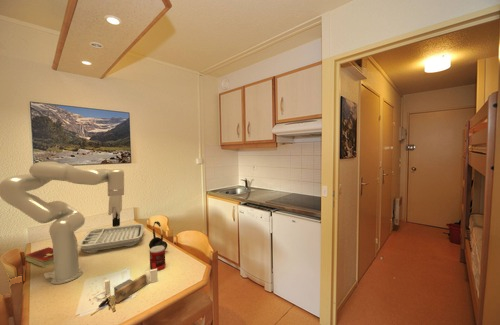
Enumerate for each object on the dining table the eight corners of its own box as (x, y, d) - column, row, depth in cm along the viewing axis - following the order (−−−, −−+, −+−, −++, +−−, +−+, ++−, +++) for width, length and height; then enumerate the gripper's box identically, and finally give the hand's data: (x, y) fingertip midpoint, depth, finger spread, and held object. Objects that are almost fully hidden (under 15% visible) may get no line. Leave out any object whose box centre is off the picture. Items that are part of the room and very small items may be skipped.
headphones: (155, 258, 128) (154, 226, 127) (147, 250, 138) (146, 220, 137) (169, 253, 134) (168, 222, 133) (160, 246, 144) (159, 217, 143)
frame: (105, 295, 95) (104, 282, 95) (106, 292, 97) (105, 279, 97) (157, 281, 105) (157, 269, 105) (157, 279, 107) (157, 268, 106)
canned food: (154, 264, 122) (153, 245, 121) (167, 264, 121) (167, 245, 121) (147, 271, 114) (146, 251, 113) (161, 271, 114) (161, 251, 113)
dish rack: (142, 247, 144) (142, 235, 144) (75, 259, 129) (74, 246, 128) (144, 231, 173) (144, 222, 172) (89, 240, 157) (89, 229, 157)
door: (119, 303, 89) (118, 292, 89) (115, 302, 90) (115, 291, 90) (148, 284, 102) (147, 275, 102) (144, 283, 103) (144, 274, 103)
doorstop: (120, 299, 93) (120, 290, 93) (114, 295, 95) (114, 287, 95) (136, 290, 99) (135, 282, 99) (129, 287, 101) (129, 279, 101)
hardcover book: (49, 252, 139) (49, 246, 138) (68, 258, 130) (67, 251, 130) (24, 261, 128) (24, 254, 127) (43, 268, 119) (42, 261, 119)
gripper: (110, 190, 118) (111, 222, 119) (104, 195, 105) (104, 231, 105) (126, 189, 121) (126, 221, 122) (121, 194, 108) (121, 230, 108)
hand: (116, 225), depth 114 cm, fingers closed
